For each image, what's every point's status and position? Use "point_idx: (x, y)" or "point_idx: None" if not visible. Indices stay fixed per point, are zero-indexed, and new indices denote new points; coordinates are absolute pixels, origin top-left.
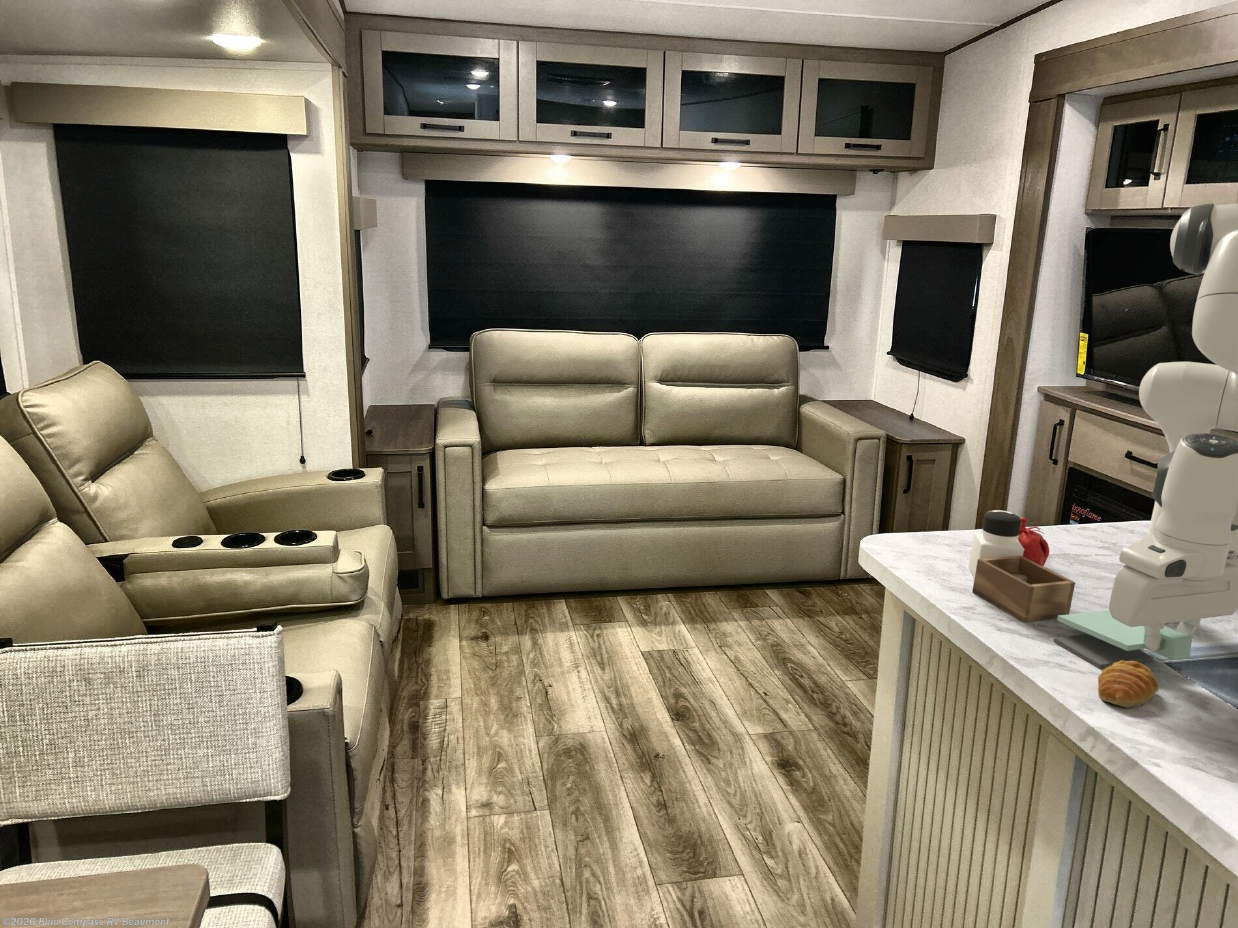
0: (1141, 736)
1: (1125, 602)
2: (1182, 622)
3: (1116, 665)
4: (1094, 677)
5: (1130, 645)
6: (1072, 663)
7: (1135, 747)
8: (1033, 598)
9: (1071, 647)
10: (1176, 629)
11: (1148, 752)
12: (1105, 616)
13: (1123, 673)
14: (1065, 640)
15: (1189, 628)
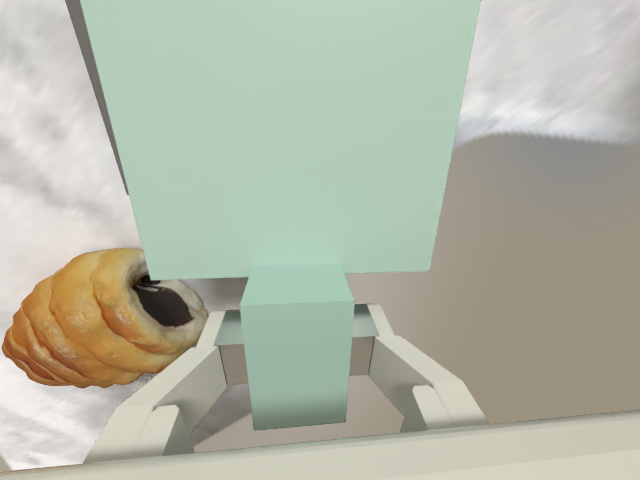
0: (55, 416)
1: None
2: (415, 379)
3: (70, 313)
4: (81, 231)
5: (166, 279)
6: (45, 135)
7: (20, 434)
8: None
9: (79, 34)
10: (379, 344)
11: (39, 443)
12: None
13: (53, 361)
14: None
15: (396, 401)
